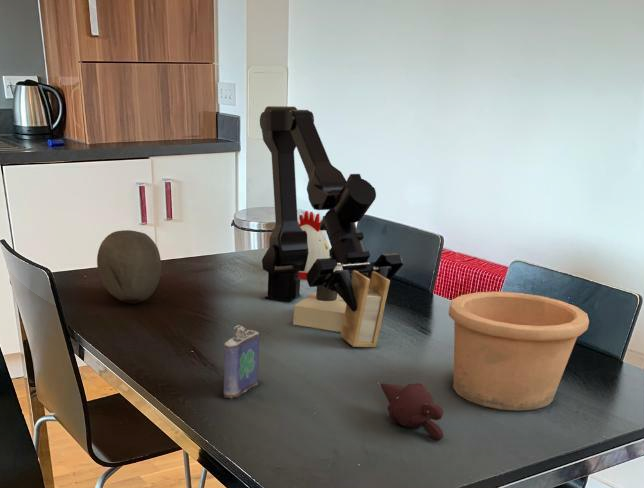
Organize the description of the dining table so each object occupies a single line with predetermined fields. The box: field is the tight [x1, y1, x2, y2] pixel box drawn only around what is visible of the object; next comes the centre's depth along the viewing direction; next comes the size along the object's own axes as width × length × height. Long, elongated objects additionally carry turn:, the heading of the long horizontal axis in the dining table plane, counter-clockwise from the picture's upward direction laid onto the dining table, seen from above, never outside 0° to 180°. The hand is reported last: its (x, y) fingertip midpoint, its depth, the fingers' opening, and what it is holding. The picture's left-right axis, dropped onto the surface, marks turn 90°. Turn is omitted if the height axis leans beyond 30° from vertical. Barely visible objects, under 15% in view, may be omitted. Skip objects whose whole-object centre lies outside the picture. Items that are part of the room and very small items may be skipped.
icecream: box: [379, 382, 445, 441], centre depth 119 cm, size 7×7×15 cm
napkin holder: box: [340, 270, 391, 348], centre depth 151 cm, size 6×5×13 cm
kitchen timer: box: [298, 210, 331, 280], centre depth 198 cm, size 14×14×15 cm
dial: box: [315, 286, 338, 301], centre depth 166 cm, size 4×4×4 cm
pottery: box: [448, 291, 590, 412], centre depth 130 cm, size 22×22×14 cm
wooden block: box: [292, 291, 346, 333], centre depth 165 cm, size 14×13×4 cm
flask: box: [223, 324, 261, 399], centre depth 128 cm, size 9×3×11 cm, turn 151°
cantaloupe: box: [96, 229, 162, 305], centre depth 170 cm, size 14×14×15 cm
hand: (368, 309), depth 149 cm, fingers closed on napkin holder, 5 cm apart
